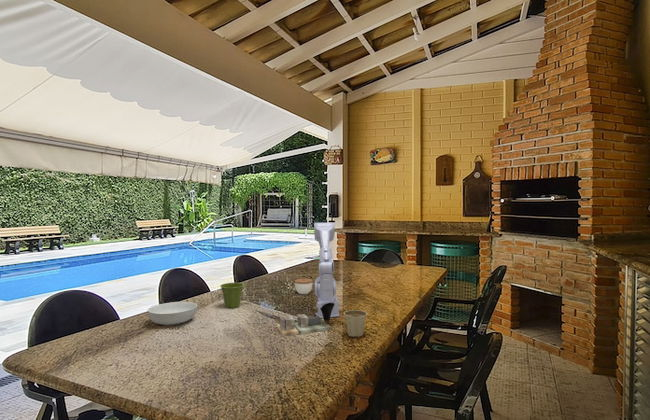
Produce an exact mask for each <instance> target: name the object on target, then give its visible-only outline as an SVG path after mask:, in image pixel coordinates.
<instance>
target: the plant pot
mask: <svg viewBox="0 0 650 420" xmlns="http://www.w3.org/2000/svg"><path fill="white" fill-rule="evenodd" d="M244 285H245V284H244V283H241V282H227V283H222V284H221V285H219V287H220V288H221V292H222V296H223V303H224V307H225V309H236V308H237V309H238V307H240V305H241V299H242V291H243V286H244Z"/></svg>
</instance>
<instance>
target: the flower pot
mask: <svg viewBox="0 0 650 420" xmlns="http://www.w3.org/2000/svg"><path fill="white" fill-rule="evenodd" d="M343 315H344V318H345V322H346V331H347V335H348V337H353V338H354V337H362V336H363V335H364V331H365V322H366V319H367V316H368V312H366V311H364V310H358V309H350V310H345V311H344V312H343Z"/></svg>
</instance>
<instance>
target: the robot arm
mask: <svg viewBox="0 0 650 420" xmlns="http://www.w3.org/2000/svg"><path fill="white" fill-rule="evenodd" d="M313 226H314V227H313V234H314V240H315V241H316V242H318V245H319V250H318V254H319V257H318V258H319V263H318V274H319V276H317V278H315V280H314V295H315V296H316V297H317V302H316V308H317V312H314V314H315V315H316V316H319V317H320V318H321V319H323V321H324V322H329V321H330V320H331V318H333V317H340V313H339V311H340V309H339V306H340V305H339V299H338V296H336V294H337V285H336V284H337V283H336V279H335V278H334V274H335V263H334V259H333V252H332V251H333V250H332V249H331V248H330V242H332V241H334V238H335V232H336V231H335V230H336V228H335V223H334V222H314V223H313Z"/></svg>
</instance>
